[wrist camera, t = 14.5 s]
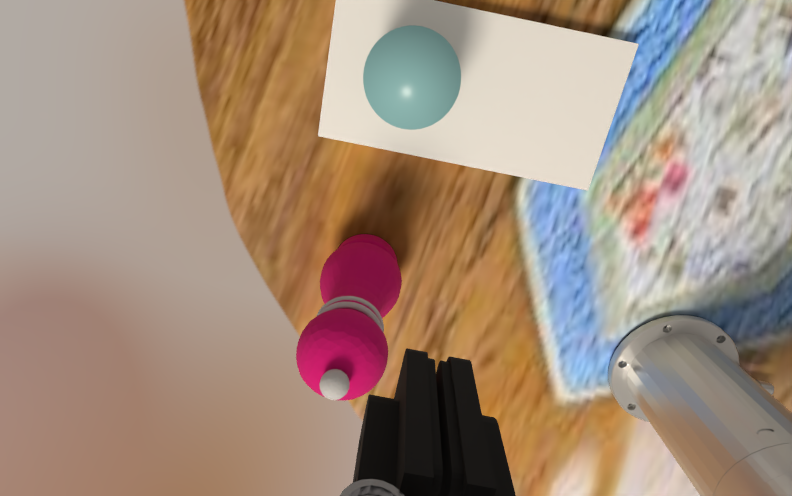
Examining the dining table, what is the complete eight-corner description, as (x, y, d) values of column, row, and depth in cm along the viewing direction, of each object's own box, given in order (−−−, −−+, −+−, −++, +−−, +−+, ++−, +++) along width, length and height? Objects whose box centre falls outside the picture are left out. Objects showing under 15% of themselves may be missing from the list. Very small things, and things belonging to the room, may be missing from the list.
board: (629, 45, 38) (677, 37, 31) (581, 186, 42) (613, 207, 35) (341, -17, 37) (325, -38, 30) (321, 133, 41) (303, 144, 34)
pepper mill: (348, 215, 44) (298, 318, 25) (415, 249, 45) (417, 372, 26) (317, 277, 46) (251, 413, 27) (382, 308, 47) (361, 460, 28)
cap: (462, 43, 36) (471, 36, 30) (443, 129, 38) (448, 138, 32) (378, 25, 35) (372, 15, 30) (364, 113, 38) (355, 119, 32)
